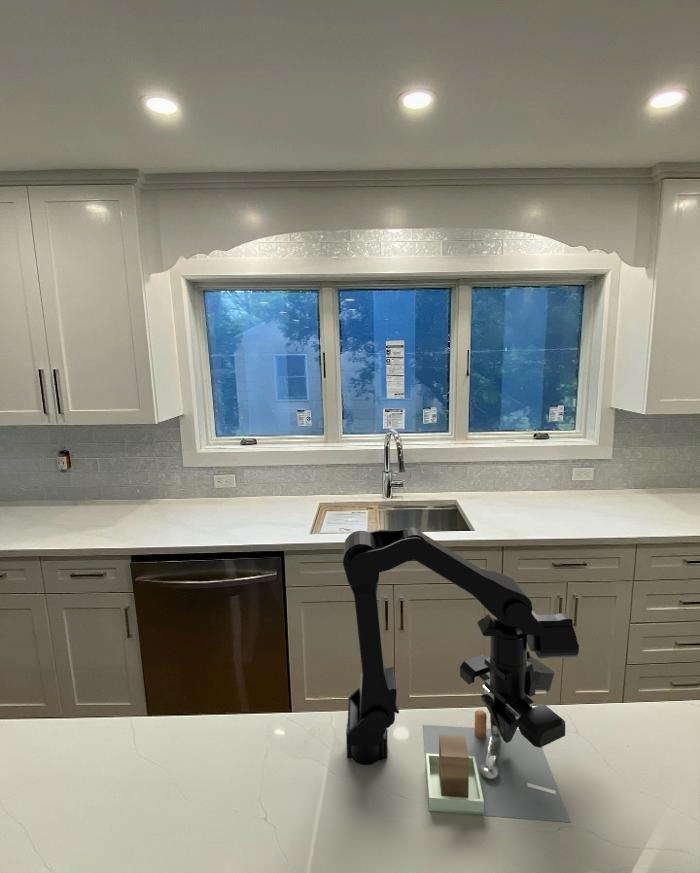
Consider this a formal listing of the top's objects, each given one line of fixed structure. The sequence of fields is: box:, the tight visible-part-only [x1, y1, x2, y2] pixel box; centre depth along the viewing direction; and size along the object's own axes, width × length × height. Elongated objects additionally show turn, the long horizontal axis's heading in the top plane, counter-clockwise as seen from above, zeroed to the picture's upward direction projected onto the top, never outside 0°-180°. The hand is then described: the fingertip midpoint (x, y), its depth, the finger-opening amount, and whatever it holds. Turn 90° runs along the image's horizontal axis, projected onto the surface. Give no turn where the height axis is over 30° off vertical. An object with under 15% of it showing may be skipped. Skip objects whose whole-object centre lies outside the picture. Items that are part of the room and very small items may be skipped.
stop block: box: [439, 735, 469, 798], centre depth 69 cm, size 4×4×7 cm
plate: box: [422, 709, 571, 824], centre depth 73 cm, size 20×16×5 cm
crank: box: [480, 713, 501, 780], centre depth 75 cm, size 10×3×5 cm, turn 155°
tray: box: [425, 753, 484, 816], centre depth 70 cm, size 8×8×2 cm
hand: (507, 741), depth 76 cm, fingers closed
